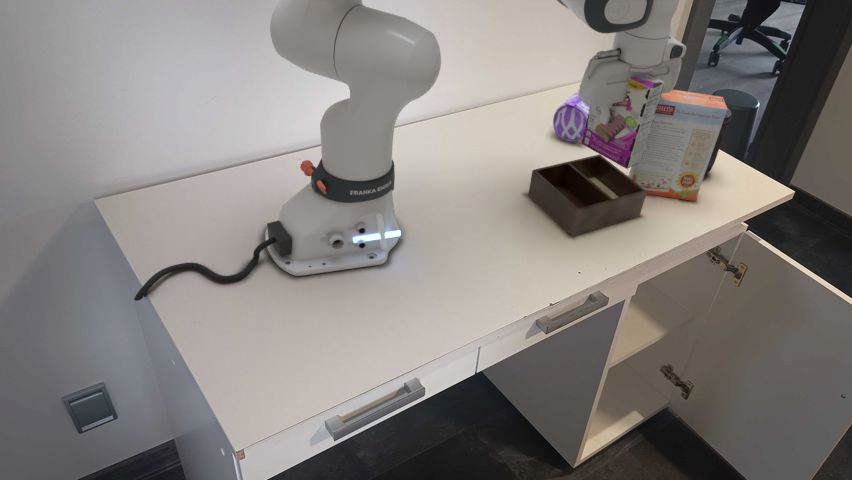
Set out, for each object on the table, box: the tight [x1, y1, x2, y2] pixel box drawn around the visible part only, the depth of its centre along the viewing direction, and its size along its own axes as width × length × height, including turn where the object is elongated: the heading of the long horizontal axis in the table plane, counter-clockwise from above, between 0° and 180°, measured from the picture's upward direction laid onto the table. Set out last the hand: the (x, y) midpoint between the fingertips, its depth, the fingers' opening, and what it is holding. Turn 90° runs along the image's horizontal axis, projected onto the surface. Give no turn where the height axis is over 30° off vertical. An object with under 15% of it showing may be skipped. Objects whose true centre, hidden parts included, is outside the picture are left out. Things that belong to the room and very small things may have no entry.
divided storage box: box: [527, 153, 648, 237], centre depth 133 cm, size 17×15×6 cm
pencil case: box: [552, 89, 590, 142], centre depth 158 cm, size 22×9×10 cm, turn 158°
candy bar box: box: [581, 74, 665, 170], centre depth 124 cm, size 11×5×16 cm, turn 47°
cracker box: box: [628, 88, 728, 202], centre depth 136 cm, size 14×6×21 cm, turn 84°
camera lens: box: [703, 107, 732, 179], centre depth 146 cm, size 8×8×15 cm
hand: (620, 119), depth 125 cm, fingers closed on candy bar box, 5 cm apart
